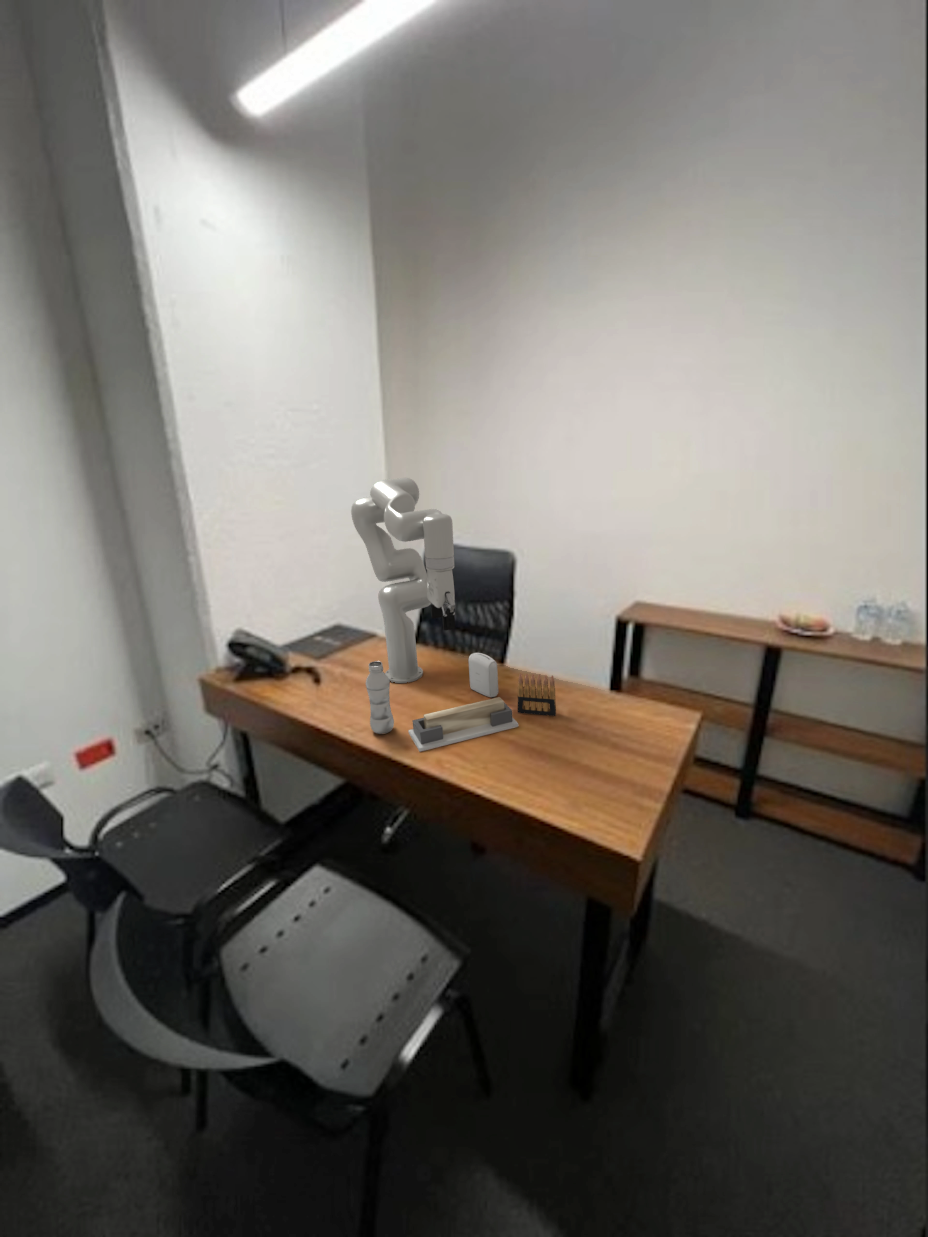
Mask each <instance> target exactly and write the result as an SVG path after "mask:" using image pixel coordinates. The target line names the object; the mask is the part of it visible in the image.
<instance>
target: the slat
mask: <svg viewBox="0 0 928 1237" xmlns="http://www.w3.org/2000/svg"><path fill="white" fill-rule="evenodd" d="M504 703H505V701H504V700H503V699H502V698H501V697H500V696H498V697H497V696H496V697H492V698H489V699H486V700H481V701H477V702H476V701H475V702H473V703H467V704H463V705H459V706H455V707H451V708H447V709H442V710H438V711H435V712H429V713H425V714H423V718H424V726H425V729H427V728H431V727H435V726H439V725H441V726H442V728H443V735H444V734H449V733H453V732H457V731H461V730H465V729H469V728H473V727H477V726H481V725H485V724H489V723H490V713H493V712H497V711H501V710H504Z"/></svg>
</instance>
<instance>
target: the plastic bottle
mask: <svg viewBox="0 0 928 1237" xmlns="http://www.w3.org/2000/svg"><path fill="white" fill-rule="evenodd" d="M368 672H369V674H368V675H367V677H366V680H365V688H366V691H367V694H368V700H369V706H370V709H369V710H370V718H369V725H370V728H371V731H372V732H373V733H375V734H378V735H384V734H388V733H390V732H391V731H392V730H393V728H394V726H395V725H394V724H395V719H394V717H393V716H394V715H393V713H392V710H391V702H390V686H391V685H390V683H391V682H390V681H389V678H388V676H387V675H386V674H385V673H386V672H384V666H383V662H382V661H380V660H374V661H370V662H369V663H368Z"/></svg>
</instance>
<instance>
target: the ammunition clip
mask: <svg viewBox="0 0 928 1237" xmlns="http://www.w3.org/2000/svg"><path fill="white" fill-rule="evenodd" d="M530 678H531V679H530V680H529V675H528V673H526V674H525V676H524V679H523V674H522V673H519V676H518V682H517V683H518V684H517V713H518V714H528V715H537V716H547V715H549V717H556V714H557V708H556V706H557V705H556V688H555V678H554V675H551V677H550V679H549V680H548V676H547V674H545V675H544V677H543V684H542V678H541V675H540V674H538V675H537V681H536V679H535V678H536V677H535V674H534V673H533V674H532V675H531V677H530Z"/></svg>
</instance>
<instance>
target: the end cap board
mask: <svg viewBox="0 0 928 1237" xmlns="http://www.w3.org/2000/svg"><path fill="white" fill-rule="evenodd" d="M518 727H519V723H518V721H517V720H516V719H515V718H514V717H513V710H512V709H511V707H510V706H509V705H508V704H507V703H506V702H504V710H501V711H497V712H493V713H490V723H489V724H485V725H481V726H477V727H473V728H469V729H465V730H461V731H457V732H453V733H449V734H444V735H443V728H442V726H441V725H439V726H435V727H431V728H427V729H425V726H424V717H420V718H417V719H412V729H408V734H409V737H410V738H411V740H412V742H413V743H414V745H415V747H416V748H417V750H418V752H425V751H428V750H432V749H436V748H440V747H443V746H447V745H451V744H455V743H459V742H463V741H467V740H471V739H475V738H476V739H477V738H479V737H482V736H488V735H490V734H491V735H492V734H494V733H499V732H502V731H506V730H511V729H514V728H518Z"/></svg>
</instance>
